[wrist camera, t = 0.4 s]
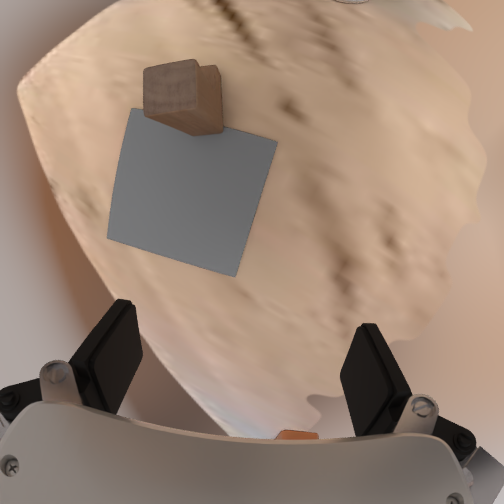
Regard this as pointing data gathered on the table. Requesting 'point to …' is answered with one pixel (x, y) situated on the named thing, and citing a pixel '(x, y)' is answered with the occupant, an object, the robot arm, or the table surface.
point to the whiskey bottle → (296, 435)
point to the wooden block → (184, 97)
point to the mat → (188, 192)
